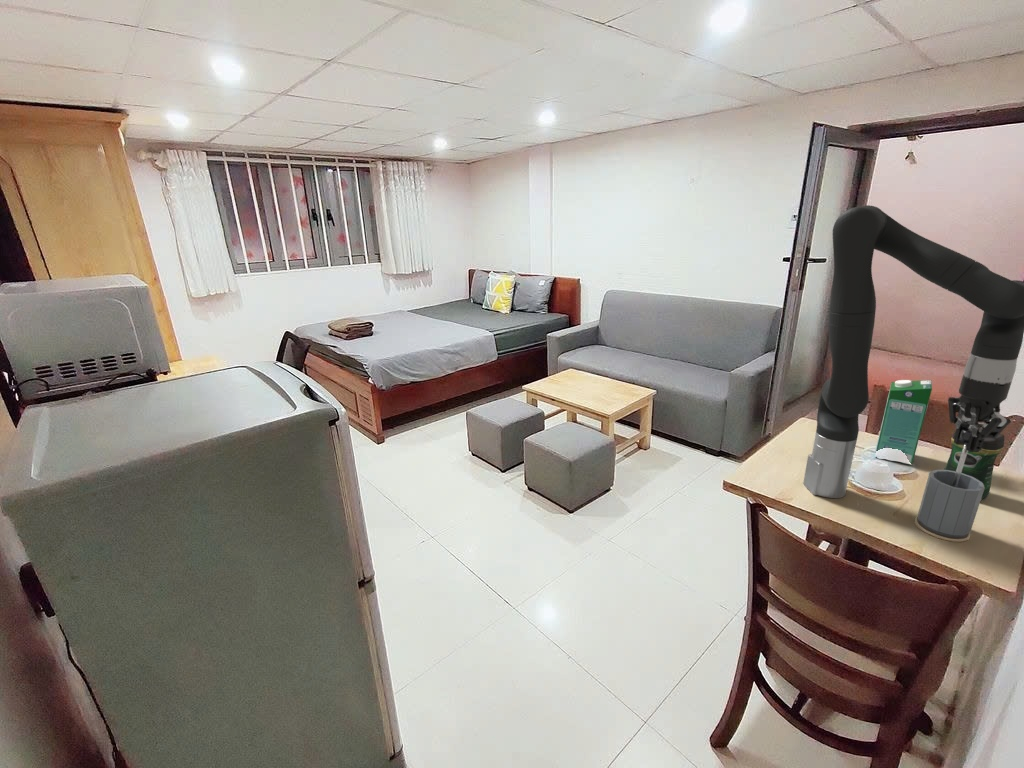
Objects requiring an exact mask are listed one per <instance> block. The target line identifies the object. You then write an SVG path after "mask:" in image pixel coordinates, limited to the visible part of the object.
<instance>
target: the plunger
mask: <svg viewBox="0 0 1024 768" xmlns="http://www.w3.org/2000/svg"><path fill="white" fill-rule="evenodd" d="M970 436H972V429H969V428H963V429H962V431H961V434H960V437H959V440H960V441H962V442H965V443H964V446H963V450H962V453H961V456H960V460H959V463H958V466H957V470H956V473H955V476H954V480H953V483H952V487H957V485H958V482H959V478H960V475H961V472H962V469H963V465H964V462H965V459H966V456H967V452H968V451H967V450H966V449H967V446H968V442H969V439H970Z"/></svg>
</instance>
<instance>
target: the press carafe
mask: <svg viewBox="0 0 1024 768" xmlns="http://www.w3.org/2000/svg"><path fill="white" fill-rule="evenodd" d="M955 473H956V472H955V471H950V470H944V469H934V470H932V471H929V473H928V476H927V481H926V484H925V487H924V491H923V495H922V499H921V501H920V505H919V509H918V513H917V516H916V517H915V518H914V524H915V526H916V527H917V528H918V529H919V530H920V531H922V532H923V533H926V534H927V535H929V536H931V537H933V538H936V539H939V540H943V541H946V542H952V543H953V542H954V543H964V542H967V541H969V540H970V538H971V531H972V528H973V526H974V522H975V519H976V515H977V514H978V510H979V507H980V504H981V501H982V499H981V498H982V495H983V492H984V489H985V487H984V485H983V483H982V482H980V481H979V480H977V479H976V478H974V477H972V476H969V475H966V474H963V473H961V475H960V478H959V482H958V485H957V487H952V483H953V480H954V476H955Z"/></svg>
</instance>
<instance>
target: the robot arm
mask: <svg viewBox="0 0 1024 768" xmlns="http://www.w3.org/2000/svg"><path fill="white" fill-rule="evenodd" d="M832 246H833V247H832V248H833V266H834V267H833V277H832V284H831V291H830V302H829V303H830V304H829V310H828V312H829V313H828V324H827V326H828V328H827V329H828V340H829V348H830V354H831V365H832V366H831V375H830V378H828V379H827V380H826V381H825V382H824V383H823V385H822V387H821V390H820V396H819V401H818V408H817V413H816V414H817V416H816V428H815V429H816V430H815V435H814V441H813V447H812V452H811V453H810V454H808V456H807V460H806V466H805V472H804V477H803V482H802V483H803V485H804V486H805V488H806V489H808V491H809V492H810V493H811V494H812V495H813V496H820V497H824V498H827V499H840V498H843V497H845V495H846V494H847V493H846V491H847V488H848V483H849V478H850V474H851V468H852V464H853V460H854V455H855V450H856V445H857V440H858V436H859V431H860V428H859V415H860V414H861V413H862V412H863V411H865V409H866V408H867V406H868V404H869V399H870V398H869V397H870V393H869V373H868V372H869V368H868V366H869V361H870V360H869V359H870V354H871V349H872V341H873V335H874V329H875V321H876V311H877V310H876V309H877V297H876V296H877V295H876V291H875V285H874V280H873V273H872V265H873V258H874V251H875V250H876V251H879V252H881V253H883V254H885V255H888V256H889V257H892V258H893V259H896V260H897V261H899V262H900V263H901V264H903V265H904V266H906V267H908V268H909V270H911V271H913V272H914V273H916V274H917V275H918V276H920V277H922V278H923V279H925V280H927V281H928V282H930V283H932V284H934V285H937V286H938V287H939V288H942V289H944V290H947V291H948V292H950V293H953V294H955V295H957V296H960V297H961V298H962V299H964V300H965V301H967V302H968V303H970V304H972V305H973V306H975V307H976V308H978V309H979V310H980V311H983V313H982V318H981V322H980V328H979V329H978V330H977V333H976V335H975V338H974V341H973V344H972V347H971V351H970V355H969V357H968V358H967V361H966V364H965V367H964V370H963V375H962V378H961V381H960V385H959V387H958V393H959V394H960V396H959V397H958V396H955V397H954V396H952V397H950V396H949V397H948V400H947V401H948V414H949V422H950V423H951V424H954V426H955V430H956V433H955V436H954V443H955V444H957V445H964V443H965V442H962V441H960V440H959V437H960V434H961V431H962V429H963V428H969V429H970V428H971V426H972V436H970V439H969V442H968V446H967V449H966V450H967V451H969V452H979V451H980V450H981V449H982V446H983V442H984V439H985V438H996V437H997V436H998V435H999V434H1002V432H1003V431H1004V430H1005V428H1007V426H1009V424H1011V418H1009V417H1004V416H1003V415H1002V414H1001V413H1000V412H1001V403H1003V402H1004V401H1006V400H1007V398H1008V395H1009V391H1010V389H1011V385H1012V383H1013V380H1014V375H1015V372H1016V369H1017V362H1018V358H1019V354H1020V351H1021V349H1022V344H1023V341H1024V281H1023V280H1018V279H1017V280H1016V279H1013V280H1011V279H1009V278H1007V277H1005V276H1003V275H1000V274H998V273H996V272H993V271H992V270H990V269H989V268H988V267H987V266H986V265H984V264H983V263H981V262H979V261H978V260H977V261H976V260H975V259H974V258H971V257H968V256H966V255H964V254H962V253H960V252H958V251H956V250H954V249H951V248H948V247H946V246H944V245H941V244H939V243H938V242H935V241H933V240H930V239H928V238H926V237H924V236H922V235H920V234H918V233H917V232H914V231H913V230H911V229H910V228H907V227H906V226H905V225H902V224H901V223H900V222H898V221H896V220H895V219H894V218H893V217H891V216H889V215H888V214H887V213H885V212H884V211H883V210H882V209H880V208H879V207H877V206H874V205H869V204H868V205H859V206H855V207H851V208H849V209H847V210H846V211H844V212H843V213H841V214H840V215H839V216H838V218H837V219H836V220H835V222H834V224H833V227H832ZM979 428H980V429H982V431H981V432H979Z"/></svg>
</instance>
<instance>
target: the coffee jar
mask: <svg viewBox="0 0 1024 768" xmlns="http://www.w3.org/2000/svg"><path fill="white" fill-rule="evenodd" d="M970 429H972V426H971V428H970ZM981 431H982V428H979V432H981ZM955 433H956V429H955V430H954V433H953V434H952V436H951V439H950V441H951V450H950V454H949V456H948V457H949V458H948V460H947V463H946V464H945V467H944V469H943V470H950V471H955V472H956V470H957V466H958V463H959V460H960V456H961V453H962V450H963V446H964V445H957V444H955V443H954V436H955ZM1004 447H1005V434H1002V433H1000V434H999V435H998V436H997V437H996V438H985V439H984V442H983V446H982V449H981V450H980V451H979V452H969V451H968V452H967V456H966V459H965V462H964V465H963V469H962V472H961V473H963V474H966V475H969V476H972V477H974V478H976V479H977V480H979V481H980V482H982V483H983V485H984V487H985V489H984V492H983V495H982V498H981V500H983V499H986V498H987V497H988V496H989V495H990V490H991V485H992V478H993V472H994V467H995V463H996V459H997V457H998V455H999V454H1001V452H1003V450H1004Z"/></svg>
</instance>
